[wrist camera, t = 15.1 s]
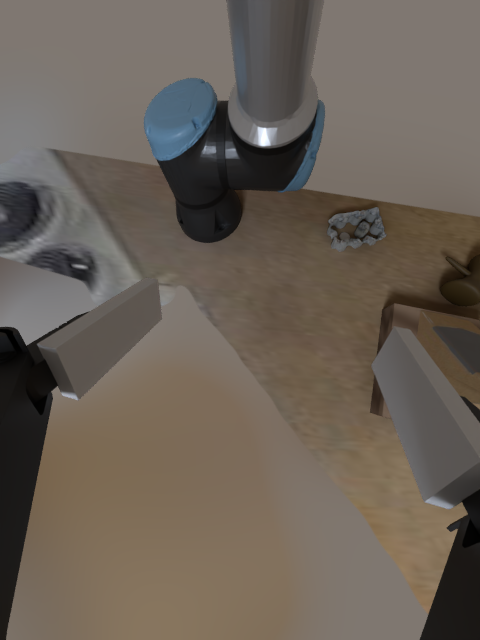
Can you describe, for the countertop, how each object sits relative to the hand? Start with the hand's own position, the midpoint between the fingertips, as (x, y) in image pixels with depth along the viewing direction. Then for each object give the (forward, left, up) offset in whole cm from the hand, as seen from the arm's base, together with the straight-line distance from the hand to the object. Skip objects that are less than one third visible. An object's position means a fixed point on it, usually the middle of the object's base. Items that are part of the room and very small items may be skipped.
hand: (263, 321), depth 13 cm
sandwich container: (-8, +30, -29) cm, 42 cm away
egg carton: (-32, +13, -33) cm, 48 cm away
